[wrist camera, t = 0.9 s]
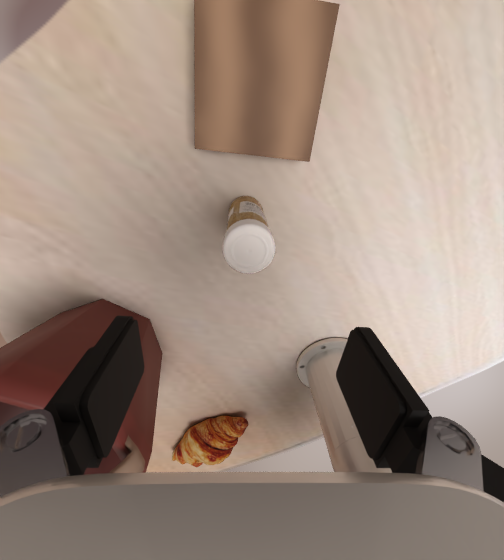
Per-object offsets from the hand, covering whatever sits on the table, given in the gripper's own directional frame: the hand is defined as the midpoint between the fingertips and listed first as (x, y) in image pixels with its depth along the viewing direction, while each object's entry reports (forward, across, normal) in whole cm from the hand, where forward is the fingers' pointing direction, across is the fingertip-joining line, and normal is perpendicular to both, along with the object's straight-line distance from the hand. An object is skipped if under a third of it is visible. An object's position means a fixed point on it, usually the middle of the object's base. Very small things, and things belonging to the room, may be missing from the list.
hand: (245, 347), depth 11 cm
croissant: (+25, +4, +48) cm, 54 cm away
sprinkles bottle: (+25, -1, 0) cm, 25 cm away
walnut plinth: (+25, -1, -13) cm, 28 cm away
